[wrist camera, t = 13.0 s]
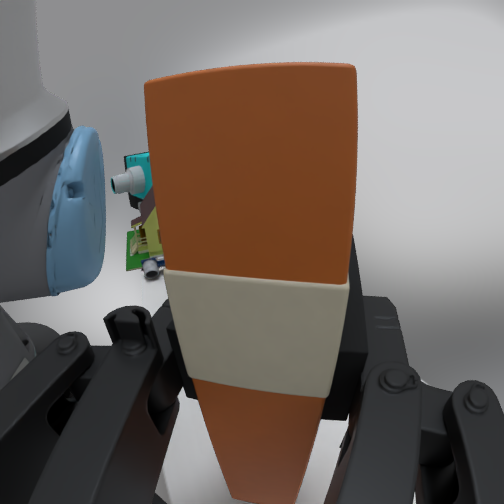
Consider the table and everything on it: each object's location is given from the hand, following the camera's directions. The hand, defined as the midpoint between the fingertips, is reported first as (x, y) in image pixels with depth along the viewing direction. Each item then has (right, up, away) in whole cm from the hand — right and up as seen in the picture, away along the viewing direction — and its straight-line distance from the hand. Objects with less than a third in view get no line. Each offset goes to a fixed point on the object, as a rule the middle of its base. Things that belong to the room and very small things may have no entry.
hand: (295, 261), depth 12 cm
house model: (-17, +2, +43) cm, 46 cm away
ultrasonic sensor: (-15, -3, +32) cm, 36 cm away
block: (-1, -11, -1) cm, 11 cm away
